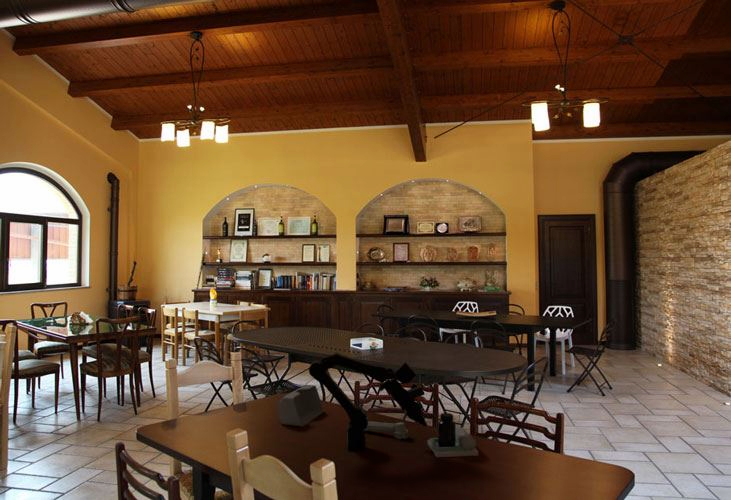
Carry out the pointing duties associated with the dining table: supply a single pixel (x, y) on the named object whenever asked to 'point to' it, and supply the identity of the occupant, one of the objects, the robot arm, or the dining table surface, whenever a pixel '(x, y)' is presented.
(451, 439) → the supplement bottle
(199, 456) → the dining table surface
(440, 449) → the motor mount
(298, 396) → the grey faceted block
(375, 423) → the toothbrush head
